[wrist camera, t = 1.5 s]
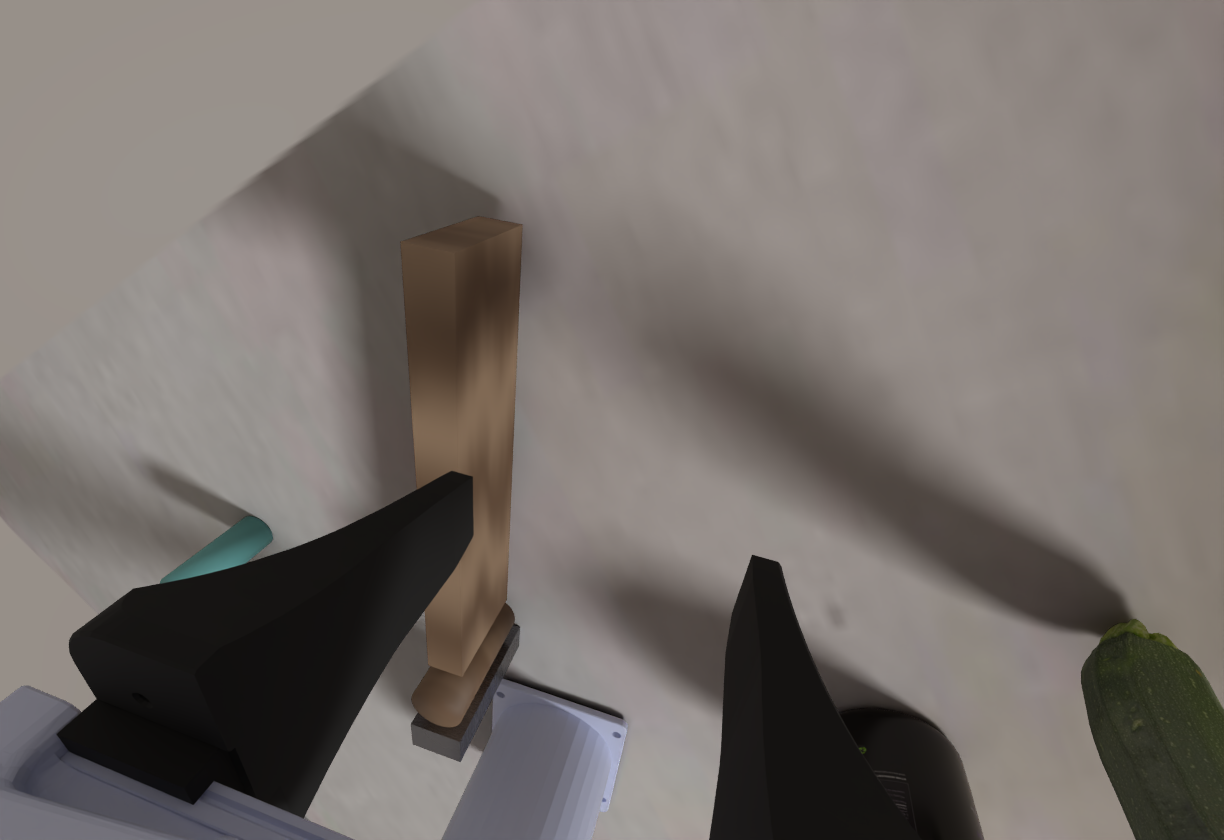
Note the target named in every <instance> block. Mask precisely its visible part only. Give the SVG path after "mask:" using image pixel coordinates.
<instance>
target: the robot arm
mask: <svg viewBox="0 0 1224 840" xmlns="http://www.w3.org/2000/svg"><path fill="white" fill-rule="evenodd" d="M473 536H474V518H473V476H469V475H465V474H462V473H458V472H455V471H450V472H448V473H446V474H444V475H442V476H440V477H439V478H437V479H435V480H433V481H431V482H430V483H428V484H426V485H424V486H423V487H421V488H419V489H417V490H415V491H414V492H412V493H410V494H408V495H406V496H405V497H403V498H401V499H399V500H397V501H395V502H393V503H392V504H390V505H388V506H386V507H384V508H382V509H380V510H378V511H376V512H374V513H372V514H370V515H368V516H366V517H364V518H362V519H360V520H358V521H356V522H354V523H352V524H350V525H348V526H346V527H343V528H341V529H339V530H337V531H335V532H332V533H330V534H328V535H325V536H323V537H320V538H318V539H315V540H313V541H310V542H308V543H305V544H303V545H300V546H297V547H295V548H292V549H289V550H286V551H283V552H280V553H277V554H274V555H271V556H267V557H264V558H261V559H258V560H255V561H252V562H249V563H246V564H242V565H238V566H235V567H231V568H228V569H224V570H220V571H216V572H212V573H208V574H204V575H200V576H195V577H191V578H186V579H181V580H176V581H171V582H166V583H161V584H156V585H151V586H146V587H140V588H134V589H132V590H131V591H130V592H128V593H127V594H126V595H124V596H123V597H121V598H120V599H119V600H117V601H116V602H115V603H113V604H112V605H111V606H109V607H108V608H107V609H105V610H104V611H103V612H101V613H100V614H99V615H97V616H96V617H95V618H93V619H92V620H91V621H89V622H88V623H87V624H85V625H84V626H82V627H81V628H80V629H78V630H77V631H76V632H74V633H73V634H72V636H71V638H70V640H69V651H70V654H71V656H72V659H73V661H74V662H75V664H76V666H77V667H78V669H79V671H80V673H81V674H82V676H83V677H84V679H85V680H86V682H87V684H88V686H89V687H90V689H91V690H92V692H93V694H94V695H95V697H96V700H95V701H94V702H93V703H92V704H91V705H89V706H88V707H87V708H86V709H85V710H84V711H83V712H81V711H80V710H79V709H77V708H76V707H74V706H73V705H72V704H70V703H68V702H67V701H65V700H62V699H60V698H57V697H55V696H52V695H50V694H48V693H45V692H43V691H40V690H38V689H35V688H33V687H31V686H21V687H20V688H18V689H17V690H16V691H14V692H13V693H12V694H10V695H9V696H8V697H6V698H5V699H4V700H3V701H1V702H0V840H354V839H352V838H349V837H347V836H344V835H342V834H340V833H337V832H335V831H332V830H330V829H328V828H325V827H323V826H320V825H318V824H316V823H313V822H311V821H308V820H306V819H304V816H305V814H306V812H307V810H308V808H309V806H310V804H311V802H312V800H313V798H314V796H315V794H316V792H317V790H318V788H319V786H320V784H321V782H322V780H323V778H324V776H325V774H326V772H327V770H328V768H329V767H330V765H331V763H332V761H333V759H334V757H335V755H336V753H337V752H338V750H339V748H340V746H341V744H342V742H343V740H344V739H345V737H346V735H347V733H348V731H349V729H350V727H351V725H352V724H353V722H354V720H355V718H356V717H357V715H358V713H359V711H360V710H361V708H362V706H363V704H364V703H365V701H366V699H367V697H368V696H369V694H370V692H371V690H372V689H373V687H374V685H375V684H376V682H377V680H378V679H379V677H380V675H381V674H382V672H383V670H384V669H385V667H386V665H387V664H388V662H389V660H390V659H391V657H392V655H393V654H394V652H395V651H396V649H397V648H398V646H399V645H400V643H401V642H402V640H403V639H404V638H405V636H406V635H407V634H408V632H409V631H410V630H411V628H412V627H413V625H414V624H415V623H416V621H417V620H418V619H419V617H420V616H421V615H422V613H423V612H424V611H425V609H426V608H427V607H428V605H429V604H430V603H431V601H432V600H433V599H434V597H435V596H436V595H437V593H438V592H439V591H440V589H441V588H442V586H443V585H444V584H445V582H446V581H447V580H448V578H449V577H450V575H451V574H452V573H453V571H454V570H455V568H456V567H457V565H458V563H459V561H460V560H461V558H462V556H463V555H464V553H465V551H466V549H467V547H468V545H469V543H470V542H471V540H472V538H473ZM627 729H628V724H627V723H626V722H625V721H624V720H623V719H620V718H617V717H615V716H612V715H609V714H606V713H603V712H600V711H597V710H594V709H591V708H588V707H585V706H582V705H579V704H577V703H574V702H571V701H568V700H565V699H562V698H559V697H556V696H553V695H550V694H547V693H544V692H541V691H538V690H536V689H533V688H530V687H527V686H524V685H521V684H518V683H515V682H512V681H509V680H506V679H502V681H501V683H500V685H499V687H498V689H497V691H496V693H495V694H494V696H493V710H492V734H491V736H490V738H489V740H488V742H487V745H486V747H485V749H484V751H483V753H482V755H481V757H480V759H479V761H478V764H477V766H476V768H475V770H474V772H473V774H472V776H471V778H470V780H469V782H468V785H467V787H466V789H465V791H464V793H463V795H462V797H461V799H460V801H459V803H458V806H457V808H456V810H455V812H454V814H453V816H452V818H451V820H450V822H449V824H448V827H447V829H446V831H445V833H444V835H443V837H442V839H441V840H592V836H593V832H594V829H595V825H596V821H597V817H598V814H599V811H601V812H606V811H607V810H608V808H609V804H610V800H611V796H612V792H613V787H614V783H615V779H616V775H617V771H618V766H619V762H620V758H621V754H622V750H623V746H624V741H625V737H626V733H627ZM709 840H922V839H921V838H920V837H919V835H918V834H917V833H916V832H915V830H914V829H913V828H912V826H911V825H910V824H909V822H908V821H907V819H906V818H905V817H904V815H903V814H902V812H901V811H900V810H899V808H898V807H897V806H896V804H895V803H894V801H893V800H892V799H891V797H890V796H889V794H888V793H887V791H886V789H885V788H884V786H883V785H882V783H881V782H880V780H879V779H878V777H877V776H876V774H875V773H874V771H873V770H872V768H871V766H870V765H869V763H868V762H867V760H866V759H865V757H864V756H863V754H862V753H861V751H860V749H859V748H858V746H857V744H856V743H855V741H854V739H853V737H852V736H851V734H850V732H849V731H848V729H847V727H846V725H845V724H844V722H843V720H842V718H841V716H840V714H839V712H838V711H837V709H836V707H835V705H834V703H833V701H832V699H831V697H830V695H829V693H828V691H827V689H826V687H825V685H824V683H823V681H822V679H821V676H820V674H819V672H818V670H817V668H816V665H815V663H814V661H813V659H812V656H811V654H810V651H809V649H808V647H807V644H806V641H805V639H804V636H803V634H802V631H801V628H800V626H799V623H798V621H797V618H796V615H795V612H794V609H793V606H792V603H791V600H790V597H789V593H788V590H787V587H786V583H785V579H784V576H783V571H782V567H781V566H780V564H779V562H776V561H773V560H769V559H765V558H762V557H758V556H755V555H752V557H751V560H750V563H749V565H748V568H747V571H746V574H745V577H744V580H743V583H742V586H741V589H740V591H739V594H738V597H737V600H736V603H735V606H734V609H733V612H732V616H731V623H730V629H729V635H728V641H727V648H726V656H725V676H724V697H723V720H722V742H721V756H720V767H719V775H718V782H717V789H716V796H715V803H714V811H713V818H712V824H711V831H710V838H709Z"/></svg>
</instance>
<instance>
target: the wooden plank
mask: <svg viewBox="0 0 1224 840" xmlns="http://www.w3.org/2000/svg"><path fill="white" fill-rule="evenodd" d="M521 249H522V224H516V223H511V222H506V221H501V220H496V219H491V218H485V217H480V216H477V217H474V218H471V219H468V220H465V221H462V222H459V223H456V224H453V225H450V226H447V227H444V228H441V229H438V230H435V231H432V232H429V233H426V234H423V235H420V236H417V237H414V238H411V239H408V240H405V241H401V258H402V273H403V288H404V303H405V318H406V334H407V349H408V364H409V379H410V394H411V410H412V425H413V440H414V455H415V470H416V486H417V489H419V488H421V487H423V486H424V485H426V484H428V483H430V482H431V481H433V480H435V479H437V478H439V477H440V476H442V475H444V474H446V473H448V472H450V471H455V472H458V473H462V474H465V475H469V476H473V518H474V536H473V538H472V540H471V542H470V543H469V545H468V547H467V549H466V551H465V553H464V555H463V556H462V558H461V560H460V561H459V563H458V565H457V567H456V568H455V570H454V571H453V573H452V574H451V575H450V577H449V578H448V580H447V581H446V582H445V584H444V585H443V586H442V588H441V589H440V591H439V592H438V593H437V595H436V596H435V597H434V599H433V600H432V601H431V603H430V604H429V605H428V607H427V608H426V609H425V622H426V638H427V653H428V665H429V666H430V668H429V670H428V671H427V673H426V674H425V676H424V677H423V679H422V680H421V682H420V684H419V685H418V687H417V688H416V690H415V691H414V693H413V695H412V698H411V700H412V704H413V706H414V708H415V709H416V710H417V712H418V713H419V714H420V715H421V716H423V717H424V718H425V719H427V720H428V721H430V722H432V723H434V724H436V725H439V726H443V727H455V726H457V725H459V724H460V723H461V721H462V719H463V717H464V715H465V714H466V712H467V710H468V708H469V706H470V704H471V702H472V700H473V699H474V697H475V695H476V693H477V691H478V689H479V687H480V686H481V684H482V682H483V680H484V678H485V676H486V674H487V672H488V671H489V669H490V667H491V665H492V663H493V661H494V659H495V658H496V656H497V654H498V652H499V650H500V648H501V646H502V644H503V643H504V641H505V639H506V637H507V635H508V633H509V631H510V630H511V628H512V626H513V624H514V621H515V616H514V613H513V611H512V609H511V608H510V607H509V606H508V605H507V604H506V603H505V602H506V600H507V582H508V558H509V534H510V510H511V487H512V463H513V439H514V415H515V391H516V368H517V344H518V320H519V296H520V272H521Z"/></svg>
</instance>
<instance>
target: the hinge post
mask: <svg viewBox="0 0 1224 840" xmlns="http://www.w3.org/2000/svg"><path fill="white" fill-rule="evenodd" d="M519 634H520V627H519V626H516V625H513V626H512V628H511V630H510V631H509V633H508V635H507V637H506V639H505V641H504V643H503V644H502V646H501V648H500V650H499V652H498V654H497V656H496V658H495V659H494V661H493V663H492V665H491V667H490V669H489V671H488V672H487V674H486V676H485V678H484V680H483V682H482V684H481V686H480V687H479V689H478V691H477V693H476V695H475V697H474V699H473V700H472V702H471V704H470V706H469V708H468V710H467V712H466V714H465V715H464V717H463V719H462V721H461V723H460V724H459V725H457V726H455V727H443V726H439V725H436V724H434V723H432V722H430V721H428V720H427V719H425V718H424V717H423V716H421V715H420V714H419V713H417V715H416V716H415V718H414V720H413V721H412V723H411V731H412V741H413V745H416V746H419V747H421V748H424V749H427V750H429V751H432V752H435V753H438V754H440V755H443V756H446V757H448V758H451V759H454V760H456V761H459V762H461V760H462V758H463V756H464V754H465V752H466V750H467V748H468V746H469V744H470V742H471V740H472V738H473V736H474V734H475V732H476V730H477V728H478V726H479V724H480V722H481V720H482V718H483V716H484V714H485V712H486V710H487V708H488V706H489V704H490V702H491V700H492V698H493V696H494V694H495V693H496V691H497V689H498V687H499V685H500V683H501V681H502V679H503V677H504V675H505V673H506V671H507V669H508V667H509V665H510V663H511V661H512V659H513V657H514V655H515V653H516V651H517V649H518V647H519Z"/></svg>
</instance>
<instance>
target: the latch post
mask: <svg viewBox="0 0 1224 840" xmlns="http://www.w3.org/2000/svg"><path fill="white" fill-rule="evenodd" d="M272 539H273V536H272V533H271V531H270V529H269V527H268V526H267V525H266V524H265V523H264V522H262V521H261V520H260V519H258V518H255V517H252V516H247V517H245V518H243V519H242V520H241V521H239V522H238V523H237V524H235V525H234V526H233V527H231V528H230V529H229V530H227V531H226V532H225V533H223V534H222V535H221V536H219V537H218V538H216V539H215V540H214V541H212V542H211V543H210V544H208V545H207V546H206V547H204V548H203V549H202V550H200V551H199V552H198V553H196V554H195V555H194V556H192V557H191V558H190V559H188V560H187V561H186V562H184V563H183V564H182V565H180V566H179V567H177V568H176V569H175V570H173V571H172V572H171V573H169V574H168V575H167V576H165V577H164V578H163V579H162V580H161V581H160V584H161V583H166V582H171V581H176V580H181V579H186V578H191V577H195V576H200V575H204V574H208V573H212V572H216V571H220V570H224V569H228V568H231V567H235V566H238V565H242V564H245V563H247V562H248V561H249V560H250V559H251V558H253V557H254V556H255V555H256V554H257V553H259V552H260V551H261V550H262V549H263V548H265V547H266V546H267V545H268V544H269V543H271V542H272Z"/></svg>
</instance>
